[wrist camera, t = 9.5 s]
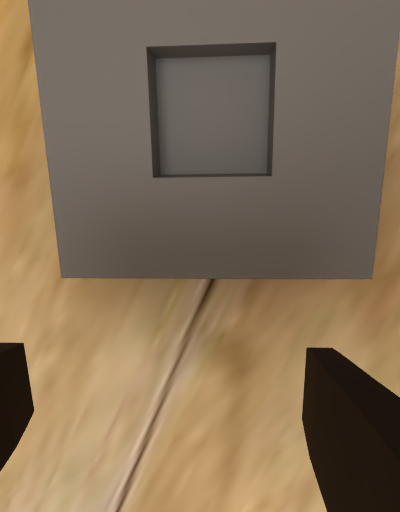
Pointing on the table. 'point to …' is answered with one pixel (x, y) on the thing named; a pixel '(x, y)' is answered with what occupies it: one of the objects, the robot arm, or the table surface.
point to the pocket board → (216, 134)
